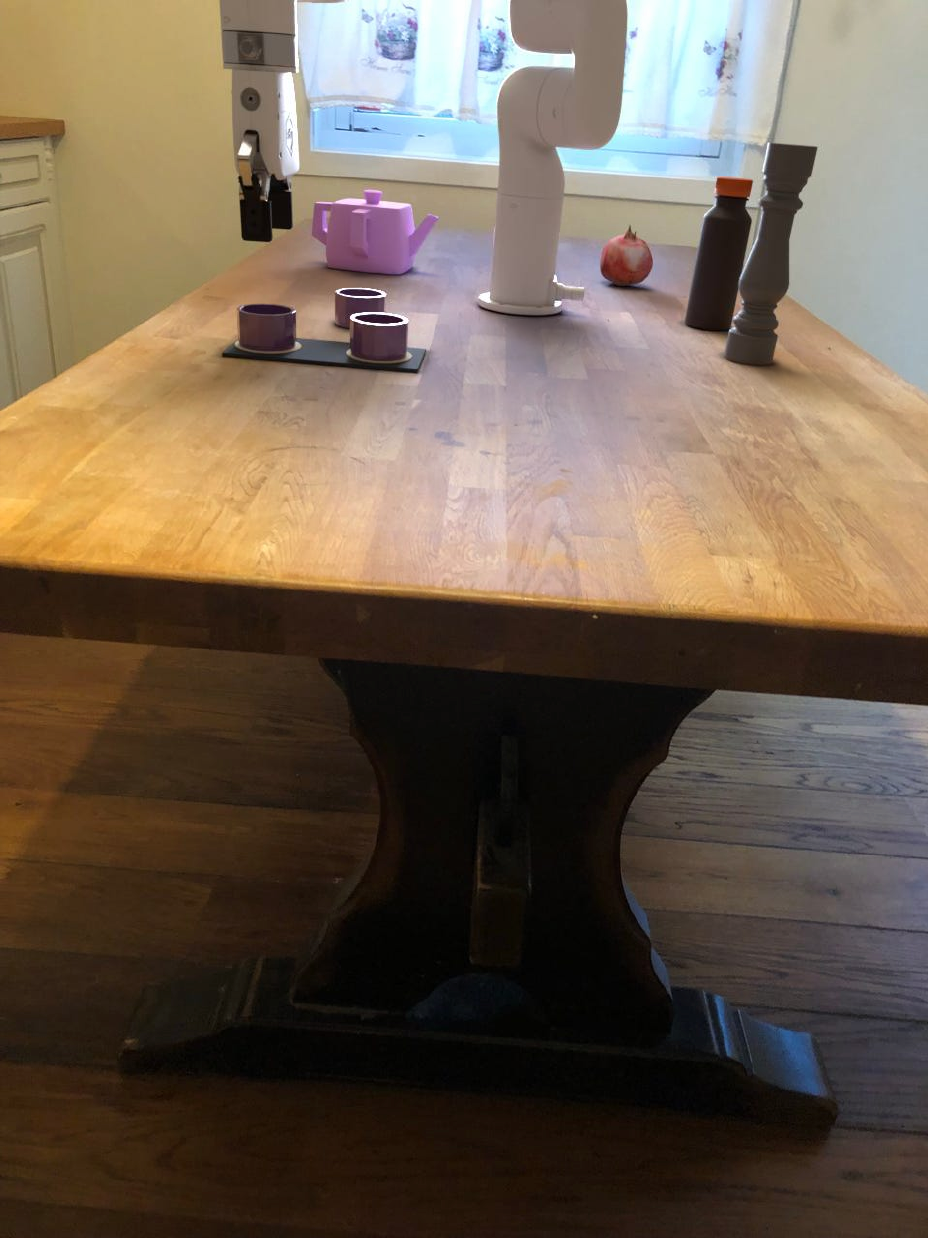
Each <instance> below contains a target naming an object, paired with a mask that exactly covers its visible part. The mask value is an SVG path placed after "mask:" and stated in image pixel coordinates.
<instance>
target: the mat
mask: <svg viewBox="0 0 928 1238" xmlns="http://www.w3.org/2000/svg"><path fill="white" fill-rule="evenodd" d="M426 353H427V348H420V347H409V346H407V355H406V357H405V358H403V359H400V360H395V361H372V360H365V359H360V358H357V357H354V356H353V355H351V353H350V341H336V340H327V339H326V340H324V339H313V338H302V337H296V346H295V347H294V348H292V349H289V350H285V351H255V350H250V349H246V348H243V347H241V346H240V345H239V340H238V339H237V340H236V341H235V342H234V343H232V344H231V345H230V346H229V347H228V348H226V349H225V350H224V351H222V352H221V356H222V357H228V358H241V359H251V360H261V361H262V360H263V361H274V362H285V363H286V362H287V363H297V364H298V363H300V364H308V365H309V364H310V365H321V366H322V365H323V366H332V367H333V366H335V367H346V368H358V369H369V370H382V371H392V372H393V371H394V372H405V373H415V374H416V373H417V374H418V373H419V370H420V368H421V365H422V363H423V360H424V358H425V355H426Z"/></svg>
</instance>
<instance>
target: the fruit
mask: <svg viewBox="0 0 928 1238" xmlns="http://www.w3.org/2000/svg"><path fill="white" fill-rule="evenodd" d="M653 265H654V259H653V255H652V252H651V249H650V247H649V245H648V243H647V242H646V241H645V240H644V239H642V238H641V237H638V236H637V230H635V231H634V232H633V231H632V226H631V224H629V225H628V229H627V230H626V232H625V233H624V234H621V235H620V234H619V235H617V236H615V237H613V238H612V239H610V240H609V241H607V242H606V243H605V244H604V246H603V248H602V250H601V252H600V258H599V270H600V274H601V276H602V278H604V279H605V280H607V281H609V282H611V283H613V284H614V285H615V286H618V287H626V286H632V285H638V284H641V283H642V282H644V281H645V280H646V279H647V278H648V277H649V275H650V273H651V272H652V269H653Z"/></svg>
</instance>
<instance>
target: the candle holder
mask: <svg viewBox="0 0 928 1238" xmlns="http://www.w3.org/2000/svg"><path fill="white" fill-rule="evenodd" d="M818 148H819V146H815V145H807V144H806V145H804V144H795V143H794V144H792V143H781V142H767V146H766V151H765V155H764V161H763V165H762V171H761V172H762V173H763V178H762V180H763V183H764V189H765V194H764V195H763V196H761V197H760V198H759V199H758V203H757V204H758V206H759V207H760V211H761V216H760V220H759V225H758V231H757V236H756V238H755V241H754V243H753V246H752V248H751V250H750V253H749V255H748V257H747V260H746V262H745V263H744V264H745V265H744V266H743V268H742V273H741V276H740V278H739V283H738V292H739V296H740V298H741V299H742V301H741V305H742V308H741V309H740V310H739V311H738V312H737V314H736V315H735V316H733V318H732V324H733V325H734V326H733V327H730V328H729V329H728V332H727V338H726V343H725V348H724V351H723V352H724V353H723V357H724V358H725V359H726V360H729V361H731V362H735V363H738V364H744V365H752V366H766V365H771V364H772V363H773V361H774V355H775V352H776V348H777V343H778V338H779V335H778V334H777V333H776V332H775V330H777V328H778V327H779V325H780V323H779V321H778V320H777V315H776V313H775V310H776V309H777V308H778V303H779V302H780V301H782V300H783V298H784V297H785V296H786V294H787V292H788V290H789V287H790V239H791V234H792V229H793V225H794V221H795V215H796V214H798V211H800V210H802V208H803V206H804V202H803V201H802V199H801V198H800V193H802V192H803V189H804V188H805V187H806V186H807V185H808V181H809V178H811V177H812V176H813V175H812V174H813V170H814V167H815V160H816V156H817V153H818Z"/></svg>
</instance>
